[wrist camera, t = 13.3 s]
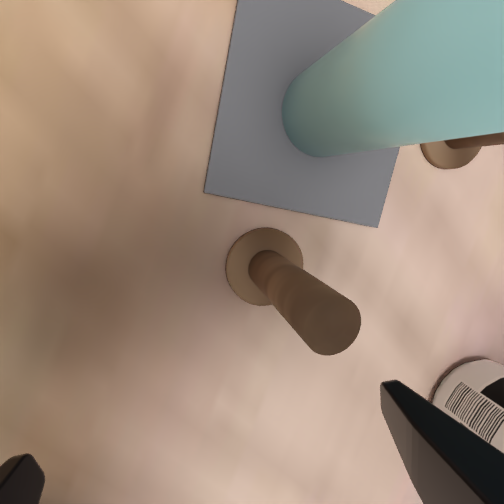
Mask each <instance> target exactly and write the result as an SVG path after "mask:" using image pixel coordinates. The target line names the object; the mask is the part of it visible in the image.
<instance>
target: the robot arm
mask: <svg viewBox="0 0 504 504" xmlns="http://www.w3.org/2000/svg"><path fill="white" fill-rule="evenodd" d="M380 396H381V409H382V413H383V416H384V418H385V420H386V423H387V425H388V427H389V430H390V432H391V434H392V437H393V439H394V442H395V444H396V446H397V449H398V451H399V453H400V456H401V458H402V460H403V463H404V465H405V467H406V470H407V472H408V474H409V476H410V479H411V481H412V483H413V485H414V487H415V489H416V491H417V493H418V494H419V496H420V498H421V500H422V502H423V504H504V453H503V452H501V451H500V450H498V449H497V448H495V447H494V446H493V445H491V444H490V443H488V442H487V441H485V440H484V439H482V438H481V437H480V436H478V435H477V434H475V433H474V432H472V431H471V430H469V429H468V428H467V427H465V426H464V425H462V424H461V423H459V422H458V421H456V420H455V419H454V418H452V417H451V416H449V415H448V414H446V413H445V412H443V411H442V410H441V409H439V408H438V407H436V406H435V405H433V404H432V403H430V402H429V401H428V400H426V399H425V398H423V397H422V396H420V395H419V394H417V393H416V392H415V391H413V390H412V389H410V388H409V387H407V386H406V385H404V384H403V383H401V382H400V381H398V380H390V381H385V382H382V383H381V385H380ZM44 483H45V475H44V472H43V471H42V469H41V468H40V466H39V465H38V463H37V462H36V460H35V459H34V457H33V456H32V455H31V454H22V455H17V456H13V457H11V458H10V459H8V460H7V461H6V462H5V463H4V464H3V465H2V466H0V504H39V501H40V497H41V494H42V490H43V487H44Z"/></svg>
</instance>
